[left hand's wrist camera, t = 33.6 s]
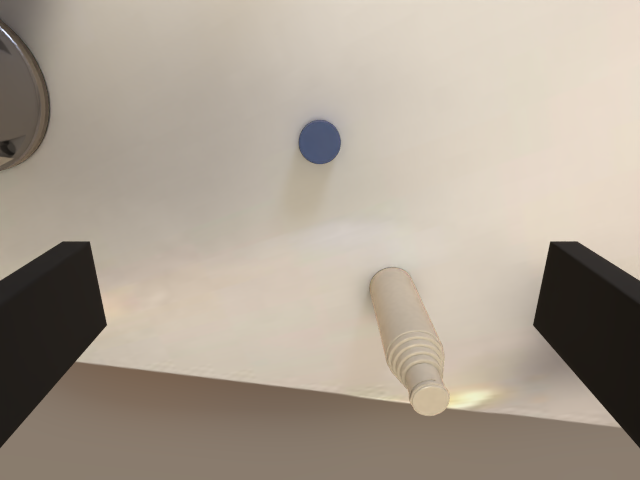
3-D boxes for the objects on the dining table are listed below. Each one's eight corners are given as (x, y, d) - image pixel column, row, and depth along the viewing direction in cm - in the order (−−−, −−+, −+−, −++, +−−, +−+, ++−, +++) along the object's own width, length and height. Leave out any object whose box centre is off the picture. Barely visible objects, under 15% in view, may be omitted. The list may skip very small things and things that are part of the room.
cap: (299, 119, 41) (299, 121, 39) (340, 120, 41) (341, 122, 39) (299, 160, 42) (298, 163, 41) (339, 161, 42) (339, 164, 41)
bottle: (412, 264, 46) (464, 370, 29) (413, 303, 48) (464, 424, 31) (367, 269, 46) (395, 377, 30) (371, 308, 48) (398, 431, 31)
